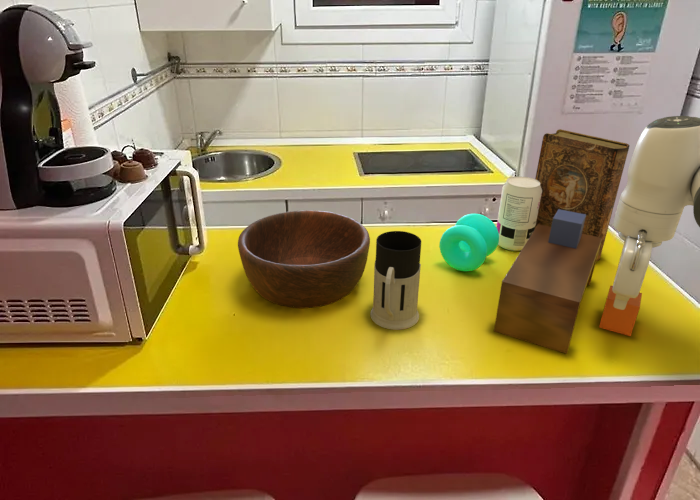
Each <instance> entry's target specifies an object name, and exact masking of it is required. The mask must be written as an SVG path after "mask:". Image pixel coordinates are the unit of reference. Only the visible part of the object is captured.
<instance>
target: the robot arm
mask: <svg viewBox="0 0 700 500" xmlns="http://www.w3.org/2000/svg"><path fill="white" fill-rule="evenodd" d="M687 206H693V208H692V209H693V210H692V211H693V218H694V221H695V223H696V224H697V226H698V227H699V228H700V117H696V116H689V115H671V116H665V117H662V118H657V119H655V120H653V121H651V122H650V123H648V124H647V125H646V127H644V129H643V130H642V132H641V134H640V136H639V138H638V139H637V142H636V145H635V147H634V150H633V153H632V155H631V158H630V161H629V165H628V168H627V181H626V185H625V186H624V189H623V190H622V192H621V194H620V196H619V200H618V202H617V206H616V210H615V214H614V217H613V220H612V226H613V228H614V229H615V230H616V231H618V234H617V235H618V237H619V239H621V240H622V241H623V245H622V249H621V253H620V256H619V260H618V265H617V268H616V272H615V276H614V280H613V283H612V286H613V288H612V291H613V293H615V294H616V297H615V300H614V304H613V307H614V308H617V309H620V310H624V309H625V307H626V305H627V302H628V300H629V298H636V297H637V296H638V294H639V292H640V293H641V289H642V286H643V283H644V279H645V277H646V273H647V271H648V267H649V265H650V260H651V256H652V251H653V250H652V249H653V248H657V247H660V246H661V245H662V243H663V242H667V241H671V240H672V239H673V238H675V237H674V236H675V234H676V231H677V228H678V226H679V223H680V221H681V217H682V214H683V212H684V209H685V208H686V207H687Z"/></svg>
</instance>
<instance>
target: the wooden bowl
mask: <svg viewBox="0 0 700 500" xmlns="http://www.w3.org/2000/svg"><path fill="white" fill-rule="evenodd" d="M370 244H371V237H370V234H369V231H368V230H367V228H366V227H365V226H364V225H363V224H362V223H360V222H359V221H357V220H356V219H354V218H352V217H349V216H346V215H344V214H340V213H337V212H331V211H324V210H314V209H313V210H305V209H303V210H291V211H284V212H279V213H275V214H270V215H268V216H265V217H262V218H259V219H257V220H256V221H254V222H252V223H251V224H249V225H247V226H246V227H245V228H244V229H243V230H242V232H241V233H239V236H238V239H237V249H238V254H239V257H240V261H241V266H242V268H243V271H244V274H245V275H246V278H247V280H248V282H249V284H250V285H251V286H252V288H253V290H255V292H257V293H258V294H259V295H260V296H261V297H262V298H264V299H265V300H267V301H269V302H271V303H272V304H275V305H278V306H282V307H286V308H294V309H312V308H320V307H323V306H327V305H331V304H334V303H336V302H339V301H340V300H342V299H343V298H345V297H347V296H348V295H349V294H351V293H352V292H353V291H354V289H355V288H356V287H357V285H358V284H359V283H360V281H361V279H362V277H363V274H364V272H365V269H366V266H367V261H368V257H369V252H370V246H371V245H370Z"/></svg>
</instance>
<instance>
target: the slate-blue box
mask: <svg viewBox="0 0 700 500" xmlns="http://www.w3.org/2000/svg"><path fill="white" fill-rule="evenodd" d="M585 218H586V214H581V213H576V212H570V211H565V210H560V209H558V211H557V213H556V214H555V216H554V218H553V221H552V226H551V231H550V236H549V241H548V242H549V243H553V244H557V245H562V246H566V247H571V248H575V249H576V248H577V246H578V243H579V241H580V239H581V235H582V231H583V226H584V222H585Z"/></svg>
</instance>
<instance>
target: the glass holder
mask: <svg viewBox="0 0 700 500" xmlns="http://www.w3.org/2000/svg"><path fill="white" fill-rule="evenodd" d="M421 253H422V239H421V238H420V237H419V236H418V235H417V234H415V233H412V232H408V231H403V230H390V231H385V232H383V233H380V234H379V235H378V236H377V237H376V241H375V260H374V268H373V270H374V271H373V296H372V297H373V299H372V301H373V303H372V308H371V310H370V314H369V315H370V318H371V320H372V321H373V323H374V324H375V325H378V326H379V327H381V328H384V329H388V330H394V331H395V330H396V331H397V330H399V331H400V330H406V329H409V328H412V327H413V326H415V325H416V324H417V323H418V322H419V319H420V313H419V310H418V303H419V291H420V278H421V277H420V276H421V265H422V264H421Z"/></svg>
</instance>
